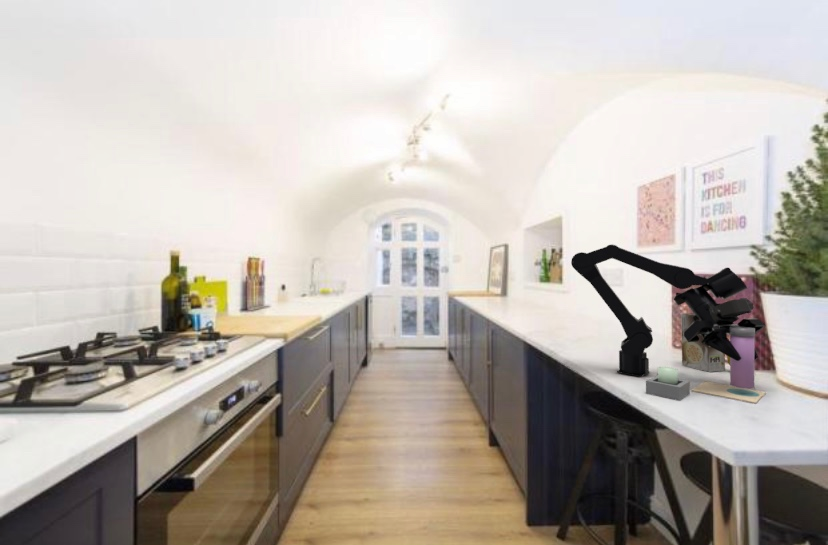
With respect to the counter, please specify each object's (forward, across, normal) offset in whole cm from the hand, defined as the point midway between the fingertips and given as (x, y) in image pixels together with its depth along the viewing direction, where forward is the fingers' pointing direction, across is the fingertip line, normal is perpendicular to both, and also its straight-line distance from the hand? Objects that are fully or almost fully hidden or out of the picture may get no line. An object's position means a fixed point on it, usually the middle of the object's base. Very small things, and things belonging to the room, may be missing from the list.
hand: (747, 359), depth 91 cm
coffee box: (-11, +13, +23) cm, 28 cm away
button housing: (+2, -17, +10) cm, 20 cm away
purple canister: (+4, 0, +6) cm, 7 cm away
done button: (+1, -17, +8) cm, 19 cm away
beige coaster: (+4, -2, +8) cm, 9 cm away
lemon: (-6, +18, +18) cm, 26 cm away
